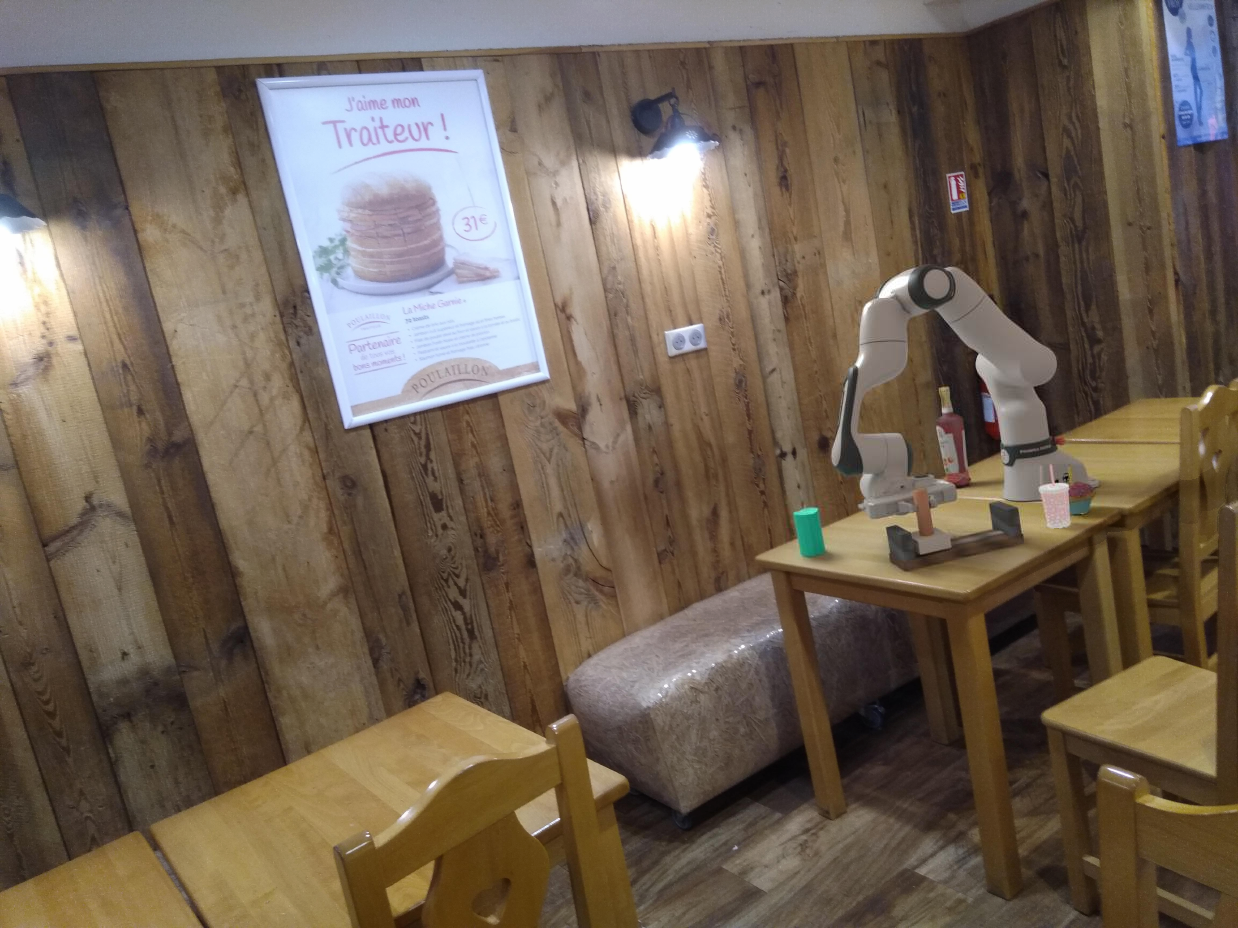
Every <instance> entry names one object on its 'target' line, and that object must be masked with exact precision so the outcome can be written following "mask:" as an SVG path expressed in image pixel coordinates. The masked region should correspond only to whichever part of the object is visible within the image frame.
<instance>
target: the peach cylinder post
mask: <svg viewBox="0 0 1238 928" xmlns="http://www.w3.org/2000/svg"><path fill="white" fill-rule="evenodd" d="M913 497H914V503H915V504H917V509H918V512H915V515H916V521H917V527H918V530H917V531H913V532H911V535H912V541H913V547H914V551H915V552H917V553H918V554H920V555H921V554H926V553H930V552H934V551H938V550H943V549H947V548H951V541H950V539H951V537H950V536H951V534H950V533H948V532H946V531H944V530H942V529H939V528H937V527H934V526H933V525H934V524H933V519H932V513H931V509H930V505H929V498H928V492H927V488H918V489H914V490H913Z"/></svg>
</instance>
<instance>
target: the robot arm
mask: <svg viewBox="0 0 1238 928" xmlns="http://www.w3.org/2000/svg"><path fill="white" fill-rule="evenodd" d="M932 310H935V311H936V312H937V313H939V314H940V316H941V317H942V319H944V321H945V322H946V323H947V325H949V327H950V328H951V329H952V330H953V332H954V333H955V334H956V335H957V336H958V337H959V339H960V340H961V341H962V342H963V343H964V344H965V345H966V346H968V347H969V349H970V348H971V349H972V350H973V351H975V352H976V353H978V355H977V357H976V361H975V368H976V371H977V374H978V375H979V376H980V378H981V379H982V380H983V382H984V383H985V385H986V388H987V391H988V392H989V394H990V395H989V396H990V397H991V398H990V399H991V401H992V403H993V406H994V408H995V412H996V416H997V420H998V421H997V422H998V429H999V432H1000V433H999V434H1000V440H1001V441H1000V442H999V447H1000V455H1001V456H1000V457H1001V459H1002V464H1003V470H1004V471H1003V473H1004V475H1003V477H1004V479H1003V491H1002V498H1003V499H1005V500H1009V501H1016V502H1027V501H1028V502H1029V501H1031V502H1033V501H1042V497H1041V493H1040V492H1039V487H1040V486H1043V485H1046V484H1052V479H1051V472H1050V465H1051V464H1052V469H1053V477H1054V483H1065V484H1066V483H1069V482H1070V477H1069V471H1068V467H1069V464H1070V467H1071V469H1072V475H1073V482H1083V483H1086V484H1090V485H1091V486H1092V487H1093V488H1094V489H1095V488H1097V487H1100V482H1099V480H1098V479H1096V478H1094V477H1091V476H1088V475H1089V474H1088V472H1087V468H1086V466H1085V465H1084V463H1083V462H1082V461H1081V460H1080V459H1078V458H1076V457H1074V456H1072V455H1070V454H1068V453H1067V452H1065V451H1063V450H1060V449H1059V446H1064V445H1065V443H1066V438H1064V437H1061V436H1055V437H1054V436H1051V435H1050V433H1049V432H1050V431H1049V427H1048V426H1049V425H1048V418H1047V412H1046V411H1047V410H1046V406H1045V405H1044V403H1043V401H1042V400H1041V399H1040V397H1039V396H1038V394H1037V393H1036V390H1035V388H1034V387H1038V386H1041V385H1043V384H1046V383H1048V382H1049V381H1051V379H1053V377H1054V376H1055V373H1056V371H1057V367H1058V365H1057V364H1058V362H1057V357H1056V355H1055V353H1054V351H1052V350H1051V348H1049V347H1047V346H1046V345H1044V344H1042V343H1041V342H1039V341H1037V340H1035V338H1033V337H1032V336H1031V335H1030V334H1029V333H1028V332H1026V331H1025V330H1024V329H1022V327H1021V326H1019V325H1017V324H1016V323H1015V322H1014V321H1012V320H1011V319H1009V318H1008V317H1007V316H1006V314H1004V313H1003V311H1002V310H1001V309H1000V308H999V307H998V306H997V305H996V304H995V302H994V301H993V300H992V299H991V297H989V295H988V294H987V293H986V292H985V291H984V290H983V289H982V288H981V286H980V285H979V284H977V282H976V281H974V279H972V278H971V276H969V275H968V274H967V273H965V272H964V271H963V270H961V269H960V268H958V267H956V266H948V267H942V266H940V265H938V264H930V263H928V264H922V265H919V266H917V267H914V268H911V269H907V270H904V271H902V272H901V273H898V275H896V276H894V277H891V278H889V279H887V280H886V281H884V282H883V283H882V284H881V285H880V286H879V288H878V290H877V291H876V293H875V296H874V299H871V300H870V301H868V302H867V303H866V304H865V305H863V308H862V312H861V316H860V317H861V319H860V327H859V350H858V356H857V359H856V362H855V363H854V365H852V366H851V367H849V368H848V369H847V371H846V373H845V374H846V375H845V377H844V381H843V385H842V391H841V397H840V404H839V412H838V420H837V426H836V431H835V435H834V438H833V443H832V448H831V464H832V466H833V468H835V470H836V471H837V472H839V473H840V474H842V475H843V476H844V477H847V478H849V477H855V476H861V475H862V477H861V478H860V481H859V489H860V491H861V494H862V495H863V497H864V499H863V501H862V502H861V503H859V504H858V505H857V507H858V509H860V510H862V511H864V512H865V514H866V516H867V517H869V518H870V519H871V520H879V519H883V518H888V517H892V516H899V517H900V516H906V515H909V514H913V513H916V512H918V509H917V504H915V503H914V497H913V490H914V489H918V488H927V492H928V498H929V505H930V510H931V509H934V508H938V506H939V505H943V504H948V503H952V502H956V501H957V500H958V491H957V488H956V486H955V485H954V484H953V483H951V482H948V481H946V480H945V479H943V478H942V479H941V478H935V475H933V474H924V475H922V474H921V475H913V476H912V475H911V473H912V472H913V467H914V451H913V447H912V445H911V443H910V442H909V441H908V439H907V438H906V437H905V436H904V435H903V434H901V433H900V432H895V433H894V432H891V433H890V432H887V433H886V432H884V433H883V432H882V433H881V432H880V433H858V424H859V420H860V419H859V417H860V411H861V405H862V401H863V400H862V399H863V397H864V395H866V393H867V392H869V391H870V390H871V389H873V388H875V387H878V386H880V385H882V384H885V383H887V382H890V381H892V380H894V379H895V378H896V377H899V375H900V374H902V372H903V371H904V369H905V367H906V366H907V363H908V355H909V350H908V349H909V347H908V341H909V340H908V330H907V329H908V323H909V321H910V318H915V317H919V316H921V315H923V314H925V313H928V312H930V311H932ZM1057 445H1059V446H1057Z"/></svg>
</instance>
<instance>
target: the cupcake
mask: <svg viewBox="0 0 1238 928" xmlns="http://www.w3.org/2000/svg"><path fill="white" fill-rule="evenodd" d="M1068 471H1069V477H1070V482H1069V483H1066V484H1068V485H1069V490H1068V494H1069V510H1070V514H1081V513H1086V512H1088V511H1089V512H1090V510H1091V509H1090V508H1091V504H1092V501H1093V499H1094V497H1095V496H1096V492H1095V491H1096V490H1095V487H1094V488H1093V487H1092V486H1091V485H1090V484H1086V483H1083V482H1073V475H1072V469H1071V467H1070V464H1069V467H1068ZM1089 512H1088V513H1089ZM1086 514H1087V513H1086Z"/></svg>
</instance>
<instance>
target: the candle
mask: <svg viewBox="0 0 1238 928" xmlns="http://www.w3.org/2000/svg"><path fill="white" fill-rule="evenodd" d="M803 506H804V508H803V509H801V510H799V511H794V512H793V520H794V524H795V531H796V536H797V541H798V547H799V552H800V556H802V557H816V556H820V555H822V554H824V553H825V552H826V546H825V540H824V535H823V534H824V533H823V530H822V528H823V527H822V524H821V523H822V522H821V518H820V513H819V508H818V507H806V505H805V504H804V505H803Z"/></svg>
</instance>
